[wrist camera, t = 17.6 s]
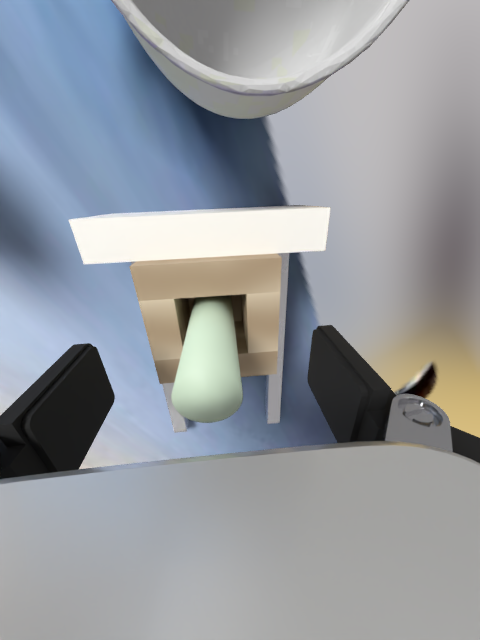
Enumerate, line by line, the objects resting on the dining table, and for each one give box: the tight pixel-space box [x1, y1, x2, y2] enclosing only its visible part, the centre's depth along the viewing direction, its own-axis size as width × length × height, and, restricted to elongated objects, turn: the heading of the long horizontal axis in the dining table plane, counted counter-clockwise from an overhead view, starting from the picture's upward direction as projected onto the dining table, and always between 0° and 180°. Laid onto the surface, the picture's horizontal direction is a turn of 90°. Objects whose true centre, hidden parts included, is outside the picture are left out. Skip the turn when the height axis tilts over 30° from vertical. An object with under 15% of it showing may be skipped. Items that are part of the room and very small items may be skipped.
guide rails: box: [131, 253, 289, 433], centre depth 20 cm, size 18×10×1 cm, turn 2°
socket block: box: [130, 253, 282, 384], centre depth 15 cm, size 7×7×6 cm
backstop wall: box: [69, 205, 331, 264], centre depth 13 cm, size 2×12×5 cm, turn 92°
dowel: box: [171, 295, 243, 423], centre depth 12 cm, size 2×2×9 cm
